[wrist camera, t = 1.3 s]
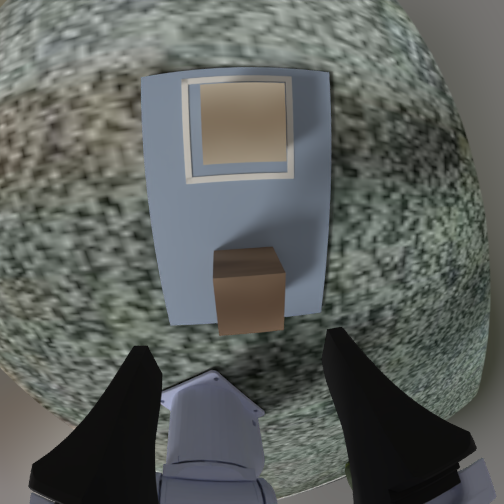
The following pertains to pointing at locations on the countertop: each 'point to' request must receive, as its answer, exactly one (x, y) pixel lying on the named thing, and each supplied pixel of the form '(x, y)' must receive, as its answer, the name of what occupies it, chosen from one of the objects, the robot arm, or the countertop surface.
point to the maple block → (243, 122)
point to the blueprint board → (236, 190)
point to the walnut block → (248, 290)
